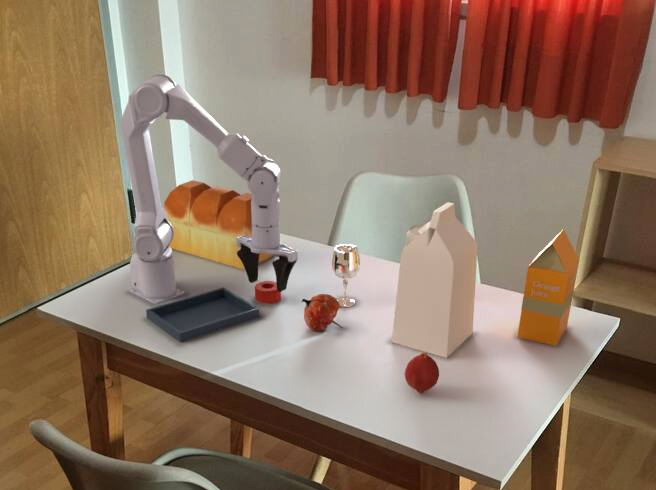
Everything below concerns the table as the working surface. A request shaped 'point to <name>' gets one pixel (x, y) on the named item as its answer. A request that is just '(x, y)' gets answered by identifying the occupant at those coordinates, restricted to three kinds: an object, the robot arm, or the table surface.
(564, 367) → the table surface
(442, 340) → the milk
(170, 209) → the bread
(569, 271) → the orange juice
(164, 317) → the tray
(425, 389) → the onion
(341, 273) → the wineglass
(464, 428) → the table surface
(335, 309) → the pomegranate
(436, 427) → the table surface
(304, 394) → the table surface
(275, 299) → the ring
